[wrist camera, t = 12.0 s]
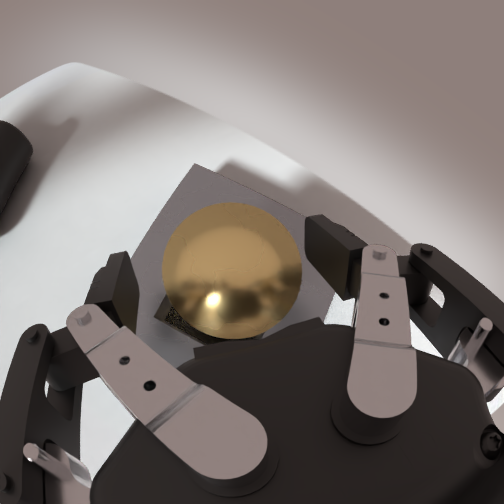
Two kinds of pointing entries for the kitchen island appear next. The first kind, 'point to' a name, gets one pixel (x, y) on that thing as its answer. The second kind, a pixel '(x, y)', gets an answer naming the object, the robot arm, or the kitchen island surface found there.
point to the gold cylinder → (232, 270)
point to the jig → (155, 241)
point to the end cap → (12, 158)
